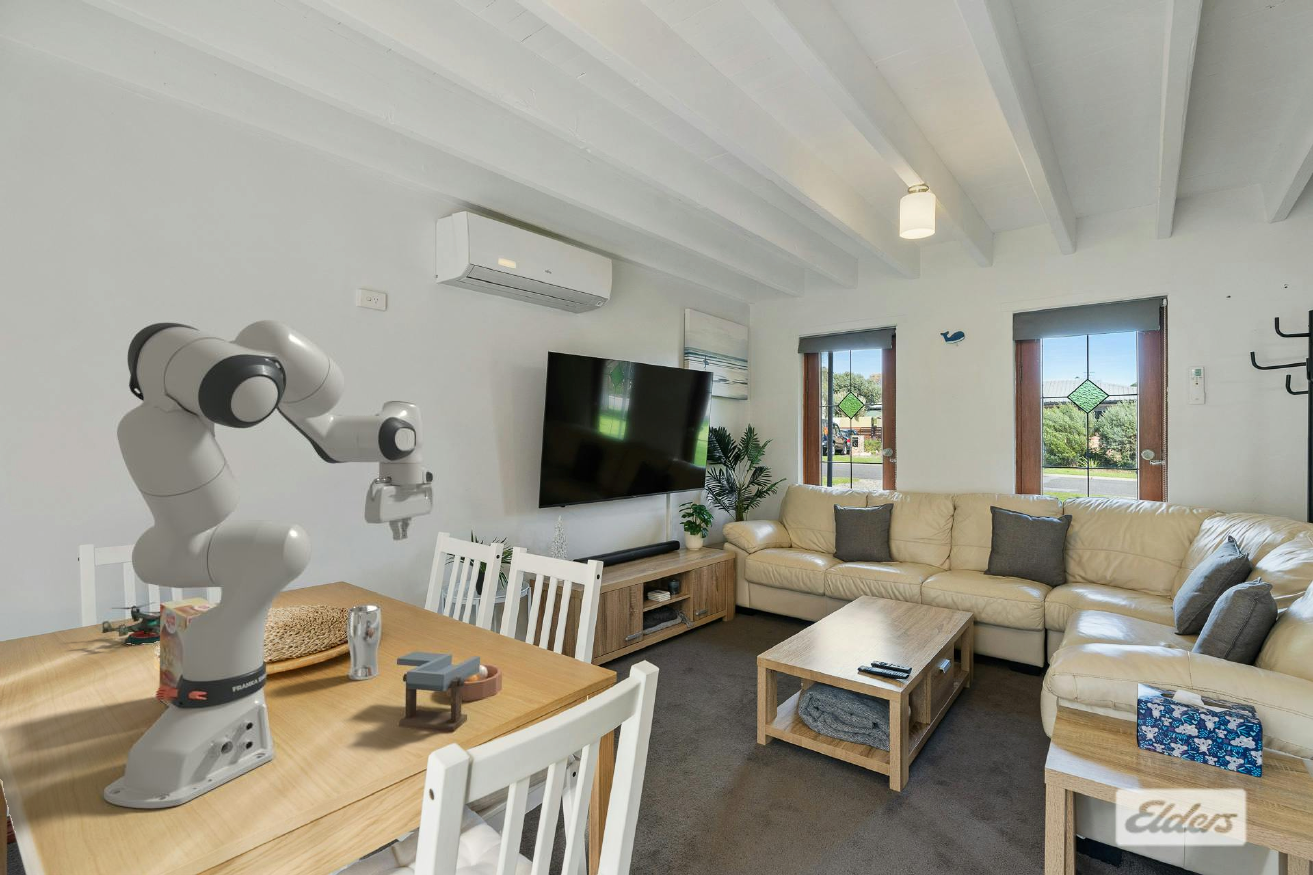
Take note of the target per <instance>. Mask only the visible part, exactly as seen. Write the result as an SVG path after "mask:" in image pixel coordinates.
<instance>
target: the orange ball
mask: <svg viewBox="0 0 1313 875" xmlns="http://www.w3.org/2000/svg"><path fill="white" fill-rule="evenodd" d="M473 681H478V679H477V676H476V675H475V674H474V675H473V676H471V677H469V678H467V679H465V682H473Z"/></svg>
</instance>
